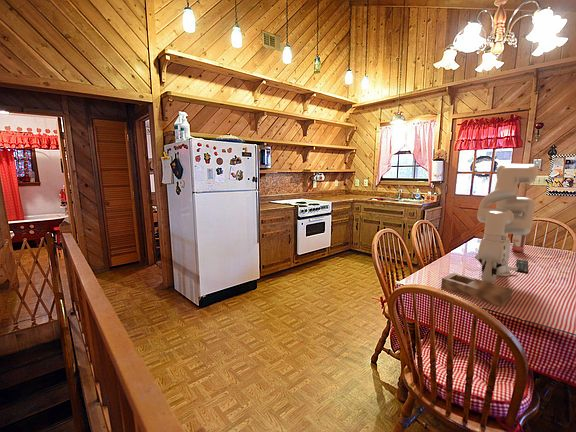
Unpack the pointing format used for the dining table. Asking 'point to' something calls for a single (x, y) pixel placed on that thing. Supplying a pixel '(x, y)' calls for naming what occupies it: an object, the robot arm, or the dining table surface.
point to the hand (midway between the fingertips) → (488, 274)
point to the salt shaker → (488, 272)
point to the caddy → (477, 289)
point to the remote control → (522, 266)
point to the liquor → (518, 243)
